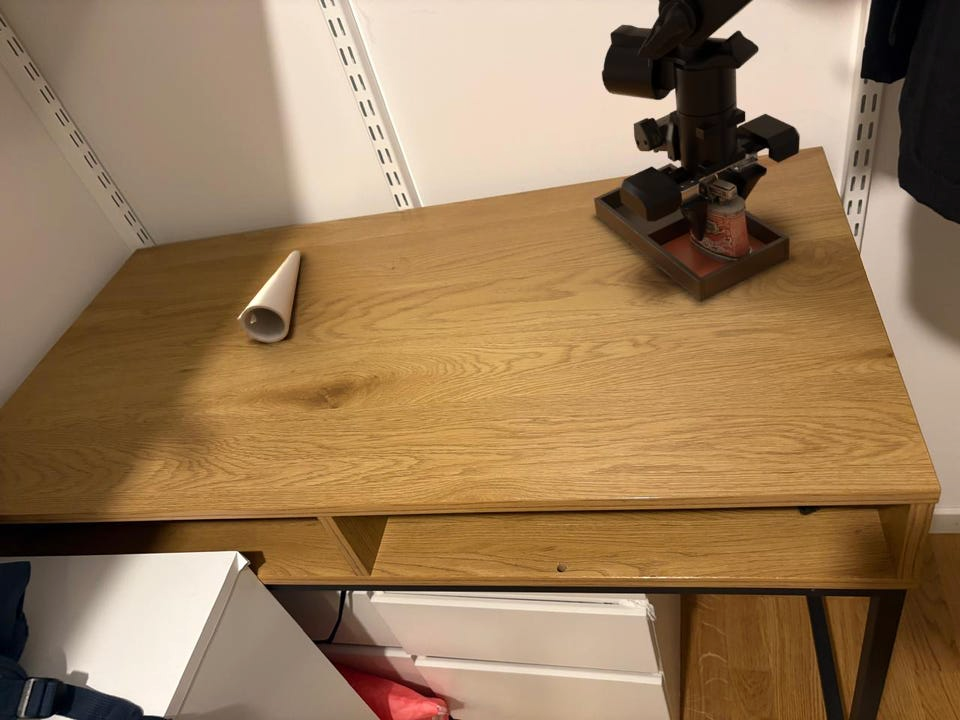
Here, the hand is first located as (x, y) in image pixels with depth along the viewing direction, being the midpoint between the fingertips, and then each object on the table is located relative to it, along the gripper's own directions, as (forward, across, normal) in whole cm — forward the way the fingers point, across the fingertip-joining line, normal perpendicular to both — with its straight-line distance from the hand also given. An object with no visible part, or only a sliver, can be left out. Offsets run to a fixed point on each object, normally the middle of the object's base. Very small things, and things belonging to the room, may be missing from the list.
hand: (712, 232), depth 84 cm
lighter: (+3, -1, 0) cm, 3 cm away
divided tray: (+3, 0, -6) cm, 7 cm away
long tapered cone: (+4, +46, -31) cm, 55 cm away
